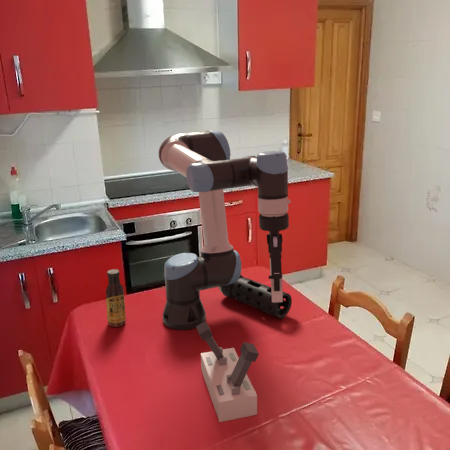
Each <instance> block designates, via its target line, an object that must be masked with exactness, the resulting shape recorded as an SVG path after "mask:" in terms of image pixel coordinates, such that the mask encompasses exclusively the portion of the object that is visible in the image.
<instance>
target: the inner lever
mask: <svg viewBox="0 0 450 450" xmlns="http://www.w3.org/2000/svg"><path fill="white" fill-rule="evenodd" d="M196 330H197V332H198V335H199V336H200V338H201V340H202V342H204V341H205V342H206V344H207V345H208V347H209V348H210V350H211V351H213V353H214V355H215V356H216V358H217V359H218V360H219V358H222V357H224V356H223V354H222V352H221V350H220V348H219V345H218V343H217V342H216V340H215V339H214V337H213V333H212V330H211V328H210V326H209V324H208V323H207V321H206V320H205V321H204V322H203V323H201V324H200V325H198V326H196Z"/></svg>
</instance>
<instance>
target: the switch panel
mask: <svg viewBox="0 0 450 450" xmlns="http://www.w3.org/2000/svg"><path fill="white" fill-rule="evenodd" d="M218 347H219V346H218ZM219 348H220V350H221V352H222V354H223V356H224V357H222V358H219V360H218V359H217V358H216V356H215V355H214V353H213V351H212V350H211V351H206V352H201V353H200V366H201V367H200V369H201V370H200V371H201V373H202V376H203V379H204V383H205V384H206V388H207V391H208V393H209V396H210V398H211V403H212V404H213V405H212V406H213V407H214V411H215V414H216V416H217V418H218V419H217V420H218V422H219V423H222V422H228V421H231V420H237V419H242V418H247V417H251V416H256V415H258V394H257V393H256V390H255V388H254V386H253V384H252V382H251V380H250V378H249V376H248V374H246V376H245V378H244V380H243V382H242V384H241V386H235V387H234V386H233V384H232V382H231V380H230V377H231V374H232V372H233V370H234V368H235V366H236V364H237V362H238V359H239V357H240V356H238V354H237V351H236V349H235V347H231V348H223V347H222V346H220V347H219Z"/></svg>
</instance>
